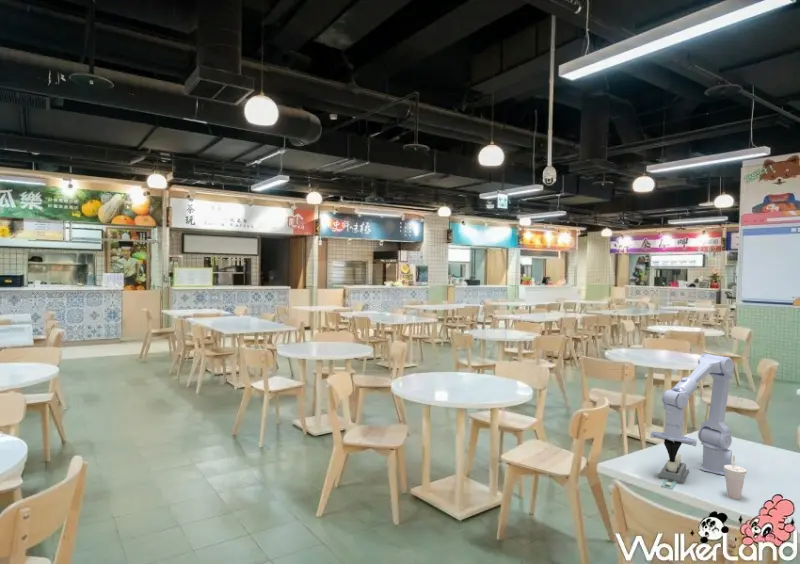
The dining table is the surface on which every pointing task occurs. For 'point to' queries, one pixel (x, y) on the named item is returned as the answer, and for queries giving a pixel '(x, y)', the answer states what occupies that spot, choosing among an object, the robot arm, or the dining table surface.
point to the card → (668, 484)
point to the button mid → (677, 462)
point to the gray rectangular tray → (674, 474)
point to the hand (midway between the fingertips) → (672, 461)
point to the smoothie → (734, 480)
